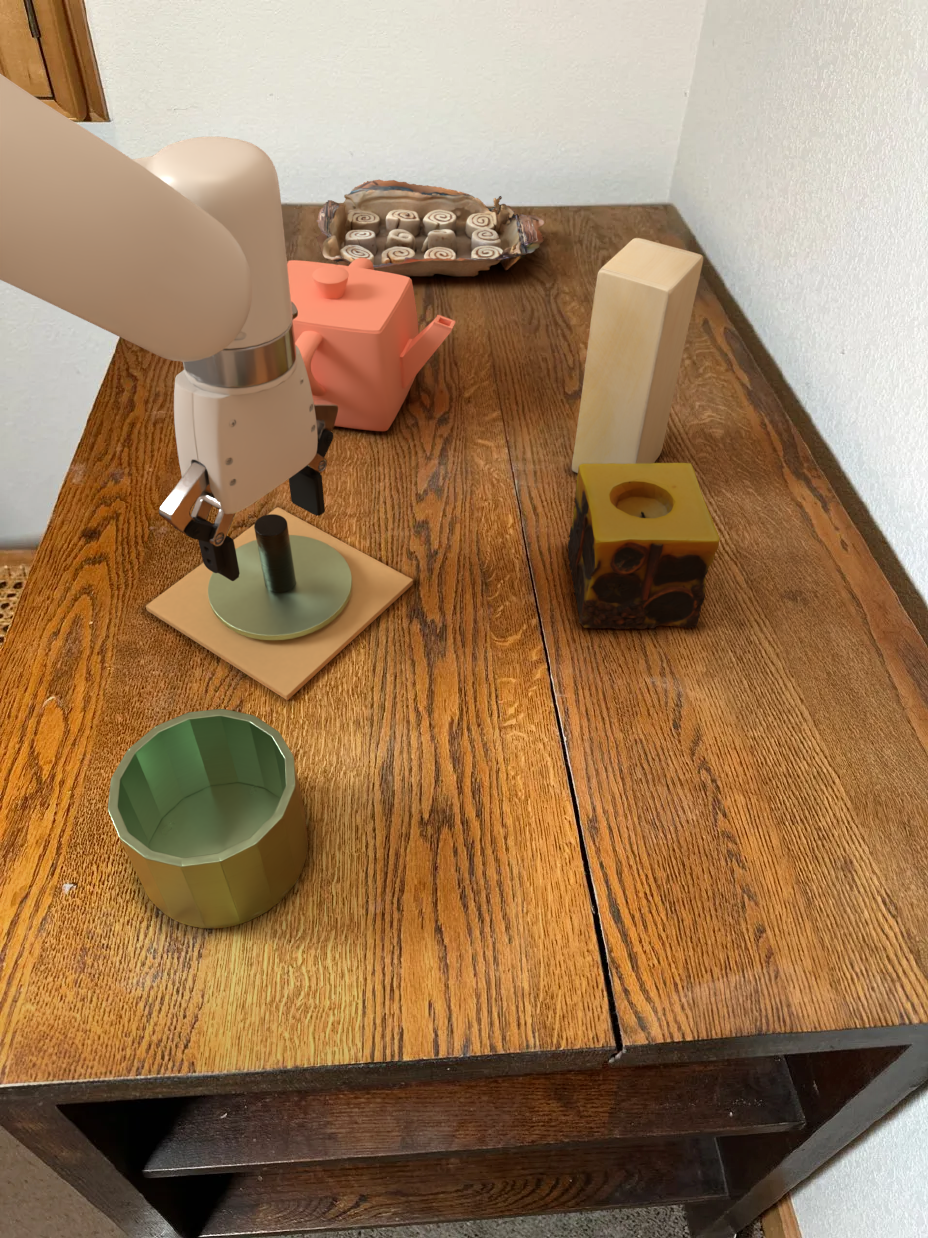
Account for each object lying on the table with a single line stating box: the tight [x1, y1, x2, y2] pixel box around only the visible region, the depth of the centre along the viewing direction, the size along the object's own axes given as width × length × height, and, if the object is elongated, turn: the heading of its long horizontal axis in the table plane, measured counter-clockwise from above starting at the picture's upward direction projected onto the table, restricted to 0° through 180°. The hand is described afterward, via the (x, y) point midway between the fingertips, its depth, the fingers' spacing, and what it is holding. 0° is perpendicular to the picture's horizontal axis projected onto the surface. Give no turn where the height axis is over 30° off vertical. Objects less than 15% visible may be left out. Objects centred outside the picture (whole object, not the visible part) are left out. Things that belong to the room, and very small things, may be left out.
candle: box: [567, 462, 721, 630], centre depth 78 cm, size 10×10×10 cm
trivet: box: [145, 506, 414, 701], centre depth 80 cm, size 16×16×1 cm
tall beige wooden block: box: [571, 237, 704, 474], centre depth 86 cm, size 8×7×21 cm
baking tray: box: [315, 179, 545, 277], centre depth 122 cm, size 30×22×5 cm
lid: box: [208, 513, 352, 640], centre depth 77 cm, size 12×12×8 cm
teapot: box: [287, 258, 456, 432], centre depth 95 cm, size 20×22×14 cm
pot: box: [107, 708, 309, 930], centre depth 61 cm, size 11×11×8 cm
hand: (267, 538), depth 74 cm, fingers open, 9 cm apart
